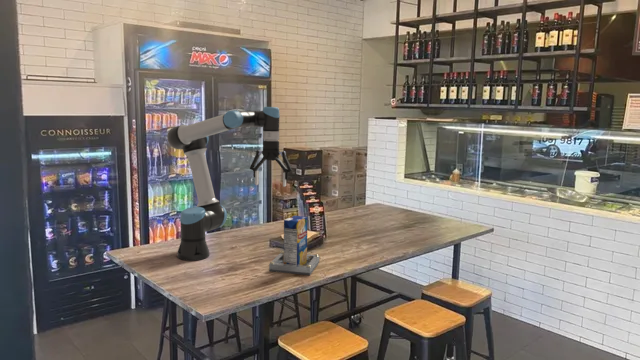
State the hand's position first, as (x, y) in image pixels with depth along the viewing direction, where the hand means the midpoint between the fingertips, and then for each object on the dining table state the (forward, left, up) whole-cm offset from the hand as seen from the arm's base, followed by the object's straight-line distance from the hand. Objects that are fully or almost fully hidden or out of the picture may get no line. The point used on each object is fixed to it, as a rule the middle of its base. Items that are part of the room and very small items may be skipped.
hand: (270, 185), depth 230 cm
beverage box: (+14, -6, -36) cm, 39 cm away
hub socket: (+14, -6, -37) cm, 40 cm away
